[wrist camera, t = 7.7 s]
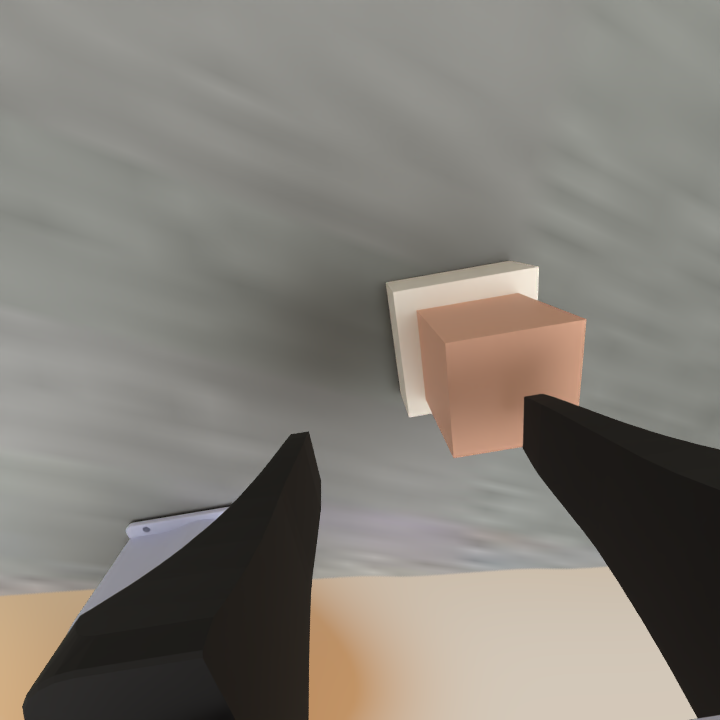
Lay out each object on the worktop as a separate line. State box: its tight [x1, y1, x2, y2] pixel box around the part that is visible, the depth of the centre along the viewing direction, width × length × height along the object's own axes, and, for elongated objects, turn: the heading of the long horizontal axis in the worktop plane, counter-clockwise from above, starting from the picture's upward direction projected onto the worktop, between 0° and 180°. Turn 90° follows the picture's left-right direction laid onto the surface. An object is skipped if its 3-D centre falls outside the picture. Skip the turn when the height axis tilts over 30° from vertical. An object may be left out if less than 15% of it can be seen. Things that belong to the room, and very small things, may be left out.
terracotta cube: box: [417, 293, 586, 458], centre depth 15 cm, size 5×5×5 cm
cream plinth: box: [386, 261, 539, 417], centre depth 19 cm, size 7×7×3 cm
